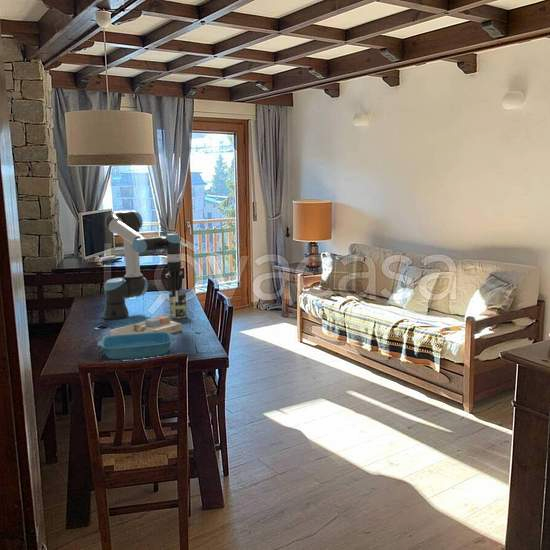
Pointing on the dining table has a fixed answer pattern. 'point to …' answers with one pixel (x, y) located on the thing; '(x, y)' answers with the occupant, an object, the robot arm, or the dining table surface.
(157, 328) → the wavy grain square board
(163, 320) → the tile rear
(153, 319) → the tile front
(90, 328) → the dining table surface
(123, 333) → the tray
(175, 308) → the coffee can
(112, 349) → the casserole dish
